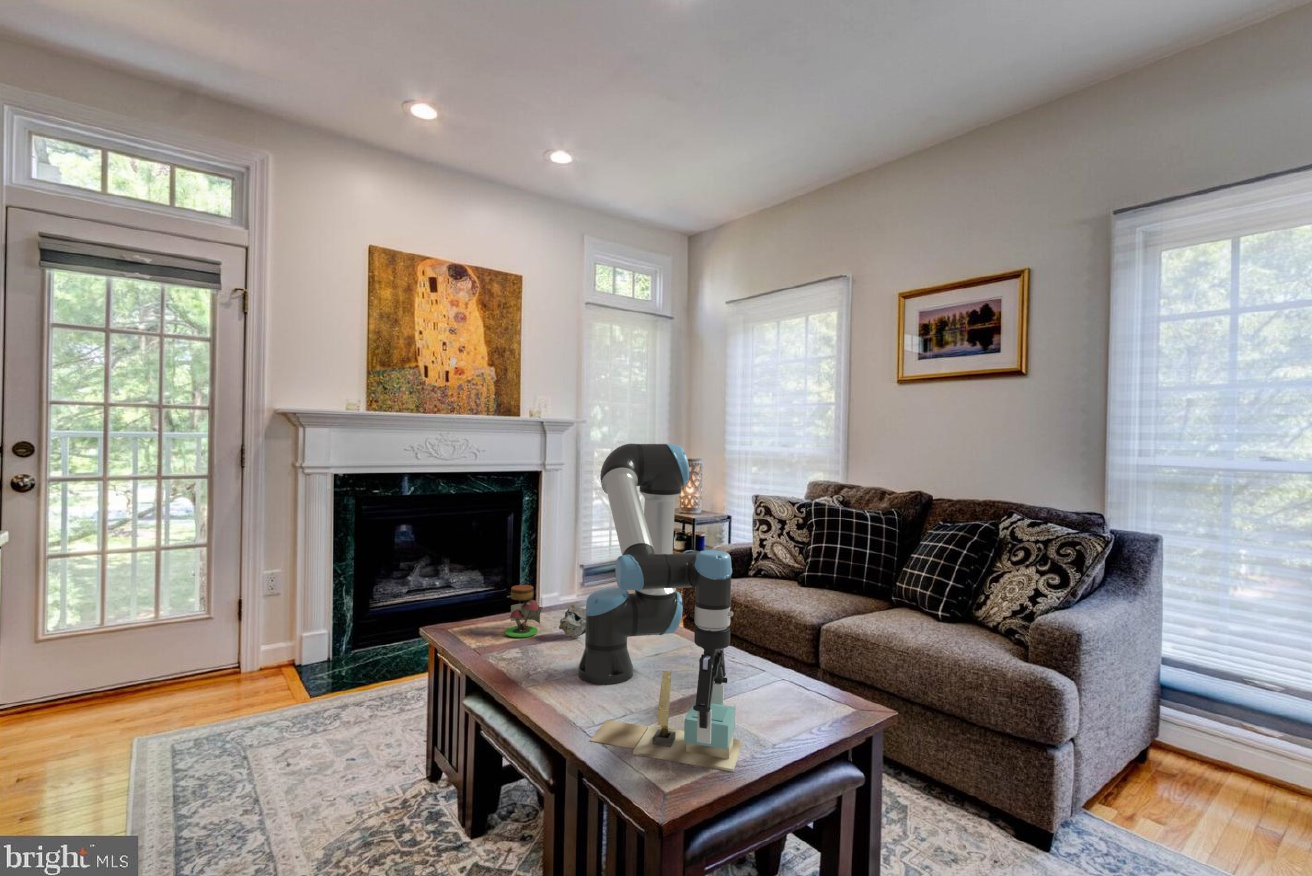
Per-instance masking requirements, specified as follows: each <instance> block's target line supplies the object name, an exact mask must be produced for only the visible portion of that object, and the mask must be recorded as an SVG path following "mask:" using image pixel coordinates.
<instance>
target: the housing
mask: <svg viewBox="0 0 1312 876" xmlns="http://www.w3.org/2000/svg"><path fill="white" fill-rule="evenodd" d="M660 736H661V726H659V725H652V724H651V725H649V726H648V728H647V730H646V731H645V733H644V734H643V736H642V737H641V739H640V740H639V742H638V744H637V745H636V747H635V748H634V749H633V751H632V754H633V755H637V756H641V757H647V758H653V759H659V760H664V761H671V762H675V763H681V764H686V765H693V766H698V767H699V766H700V767H702V768H703V767H704V768H710V769H714V770H715V769H716V770H720V771H721V770H722V771H726V772H734V770H735V769H736V768H735V767H736V764H737V761H738V759H739V756H740V753H741V749H742V746H743V740H742V739H736V738H734V735H733V736H732V739H731V741H730V744H729V747H728V750H727V749H721V748H715V747H709V746H703V745H697V744H692V743H686V742H684V730H681V729H674V728H669V727H668V738H662V737H660Z"/></svg>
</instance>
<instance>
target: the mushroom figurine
mask: <svg viewBox="0 0 1312 876" xmlns="http://www.w3.org/2000/svg"><path fill="white" fill-rule="evenodd" d="M510 599H511V600H513V601H514V600H515V601H526V602H525V603H516V604H512V605H510V616H509V618H510V622H516V625H515V626H511V627H508V628H506V629H505V631H504V634H505V635H506V636H507V637H511V638H527V637H531V636H534V635H536V634H537V633H538V628H537V627H536V626H533V625H529V624H528V622H527V621H528V620H529V621H530V620H531V621H532V620H533V621H535V622H537V623H538V624H539V625H540V623H541V622H540V621H541V612H542V610H543V609H544V607H542V606H539V605H538V602H537V601H536V600H534V586H533V585H530V584H529V585H528V584H518V585H517V584H516V585H513V586H511V588H510ZM521 621H522V622H521Z"/></svg>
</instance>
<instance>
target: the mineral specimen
mask: <svg viewBox="0 0 1312 876" xmlns="http://www.w3.org/2000/svg"><path fill="white" fill-rule="evenodd" d="M585 611H586V608H584V607H580V606H579V607H578V606H577V605H574V604H570V605H569V606H568V608H567V610H566V611H565V613H564V618H563V617H562V618H561V619H560V620H559V626H558V629H559V630H562V631H564V634H565V635H566V636H567V635H569V636H570V637H571V638H573V639H575V638H579V637H580V636H582V635H584V634H586V614H585Z"/></svg>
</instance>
